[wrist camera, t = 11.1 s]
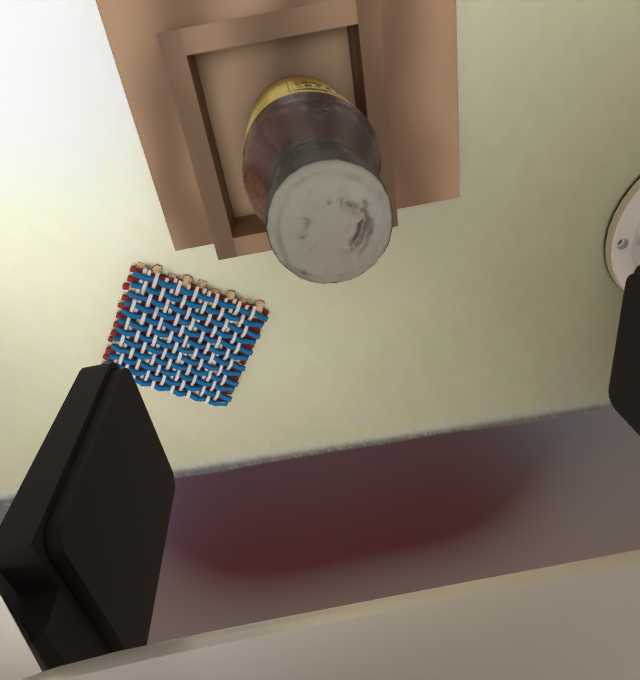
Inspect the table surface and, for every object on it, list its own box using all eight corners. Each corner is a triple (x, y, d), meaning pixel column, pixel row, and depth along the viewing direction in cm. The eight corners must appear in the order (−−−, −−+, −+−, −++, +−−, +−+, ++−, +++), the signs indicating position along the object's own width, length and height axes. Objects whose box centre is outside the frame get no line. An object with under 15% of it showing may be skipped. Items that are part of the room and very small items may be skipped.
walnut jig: (447, -91, 30) (481, -110, 25) (454, 192, 38) (480, 214, 34) (92, -26, 29) (64, -35, 25) (177, 244, 38) (167, 274, 33)
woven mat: (133, 251, 38) (128, 262, 36) (271, 299, 41) (272, 312, 40) (99, 365, 43) (92, 380, 41) (226, 401, 46) (225, 416, 44)
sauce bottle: (366, 130, 34) (482, 240, 17) (295, 197, 36) (337, 358, 19) (295, 43, 31) (352, 74, 14) (222, 122, 33) (195, 232, 16)
